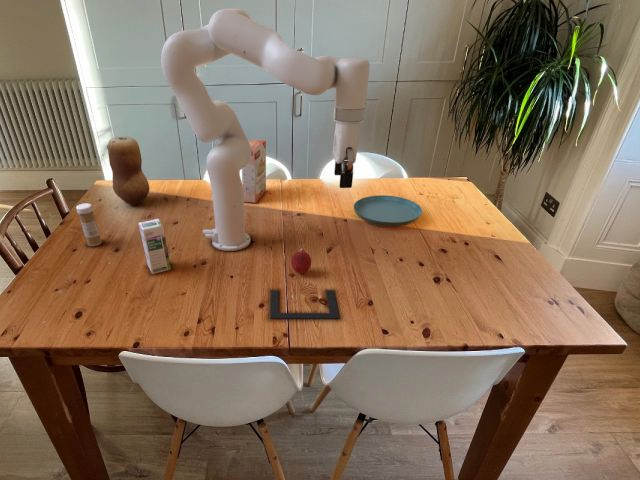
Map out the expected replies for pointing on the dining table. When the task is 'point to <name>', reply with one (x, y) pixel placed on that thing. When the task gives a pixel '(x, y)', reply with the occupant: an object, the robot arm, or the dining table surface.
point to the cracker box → (255, 172)
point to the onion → (301, 261)
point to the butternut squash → (127, 170)
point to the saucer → (387, 210)
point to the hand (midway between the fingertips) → (342, 181)
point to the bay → (331, 315)
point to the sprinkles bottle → (89, 224)
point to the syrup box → (155, 245)
